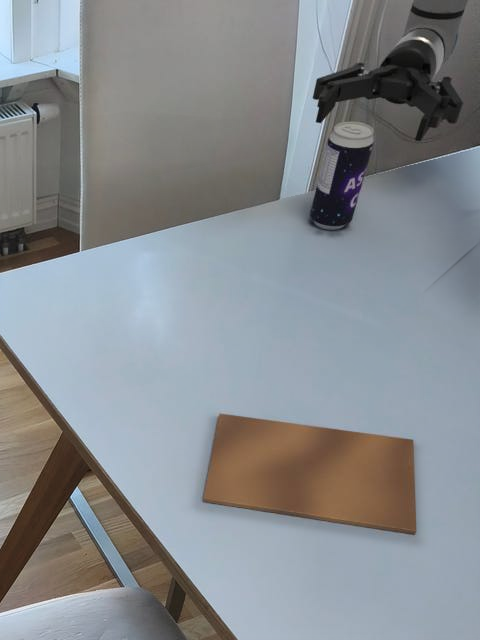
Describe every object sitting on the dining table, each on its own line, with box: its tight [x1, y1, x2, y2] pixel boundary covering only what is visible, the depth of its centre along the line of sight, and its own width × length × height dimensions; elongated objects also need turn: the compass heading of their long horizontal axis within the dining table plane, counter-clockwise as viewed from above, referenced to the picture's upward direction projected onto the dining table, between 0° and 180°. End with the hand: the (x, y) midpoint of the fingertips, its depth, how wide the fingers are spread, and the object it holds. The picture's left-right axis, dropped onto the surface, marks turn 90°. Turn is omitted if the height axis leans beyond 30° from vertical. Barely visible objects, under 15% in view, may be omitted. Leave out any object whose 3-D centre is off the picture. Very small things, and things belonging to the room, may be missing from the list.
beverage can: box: [309, 121, 375, 231], centre depth 117 cm, size 6×6×12 cm
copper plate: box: [202, 413, 417, 535], centre depth 89 cm, size 20×14×1 cm
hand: (369, 121), depth 120 cm, fingers open, 13 cm apart
